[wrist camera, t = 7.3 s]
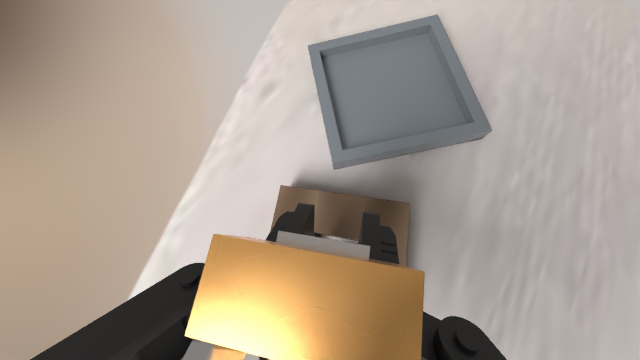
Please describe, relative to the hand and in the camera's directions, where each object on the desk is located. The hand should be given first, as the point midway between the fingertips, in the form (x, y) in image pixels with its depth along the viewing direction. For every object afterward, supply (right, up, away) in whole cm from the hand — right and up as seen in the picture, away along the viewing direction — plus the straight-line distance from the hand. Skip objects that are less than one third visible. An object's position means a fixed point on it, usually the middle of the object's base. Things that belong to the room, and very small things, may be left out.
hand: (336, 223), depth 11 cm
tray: (+6, +10, +11) cm, 16 cm away
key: (0, -3, +4) cm, 5 cm away
